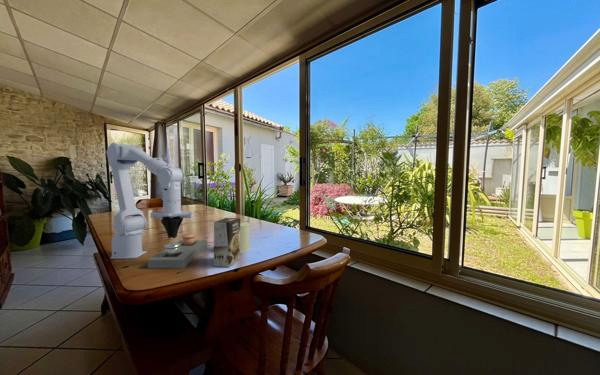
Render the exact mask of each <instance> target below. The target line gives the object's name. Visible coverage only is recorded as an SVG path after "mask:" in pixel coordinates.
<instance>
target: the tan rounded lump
mask: <svg viewBox="0 0 600 375" xmlns="http://www.w3.org/2000/svg"><path fill="white" fill-rule="evenodd" d="M195 237H196V234H195V233H184V234H182V235H181V239H182V240H183V245H184V246H190V245H194V240H195Z"/></svg>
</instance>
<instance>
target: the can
mask: <svg viewBox="0 0 600 375" xmlns="http://www.w3.org/2000/svg"><path fill="white" fill-rule="evenodd" d="M250 225H251V224H250V222H247V221H246V222H245V221H240V254H244V253H247V252H249V251H250Z"/></svg>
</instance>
